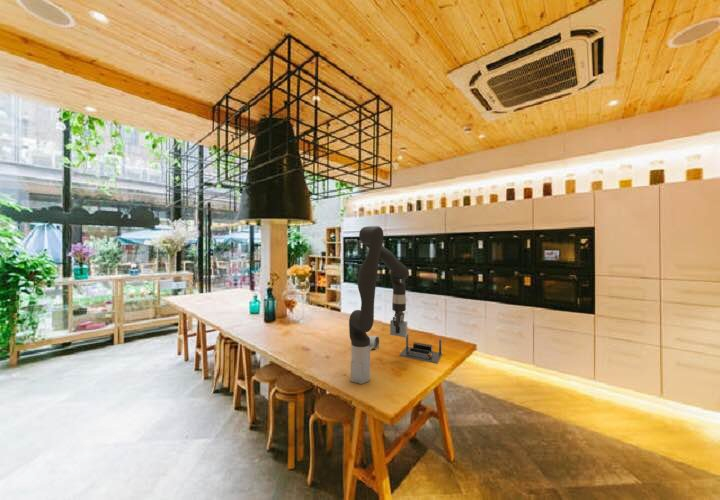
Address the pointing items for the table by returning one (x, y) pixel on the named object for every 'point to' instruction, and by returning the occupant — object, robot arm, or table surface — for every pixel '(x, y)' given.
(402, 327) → the grey rectangular block
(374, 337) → the ceramic mug
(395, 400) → the table surface
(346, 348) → the table surface
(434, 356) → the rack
